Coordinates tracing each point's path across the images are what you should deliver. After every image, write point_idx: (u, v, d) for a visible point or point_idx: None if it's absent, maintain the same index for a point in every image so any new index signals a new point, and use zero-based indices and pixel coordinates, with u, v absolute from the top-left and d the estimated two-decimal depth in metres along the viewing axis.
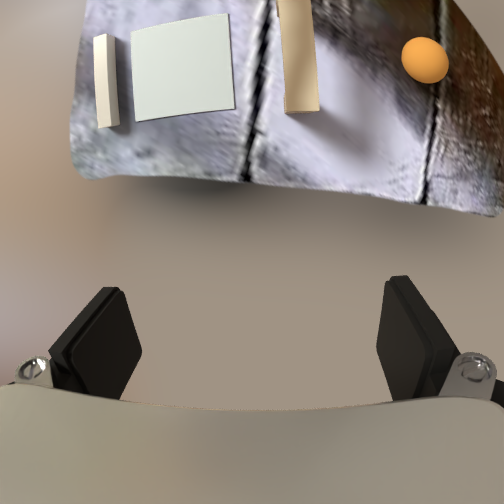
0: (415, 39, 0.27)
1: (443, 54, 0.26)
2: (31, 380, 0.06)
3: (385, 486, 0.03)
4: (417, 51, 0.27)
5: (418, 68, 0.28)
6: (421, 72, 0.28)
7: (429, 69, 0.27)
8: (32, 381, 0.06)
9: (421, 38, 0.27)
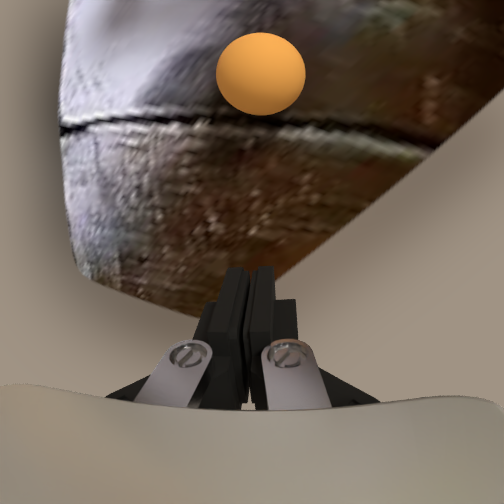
0: (293, 47, 0.17)
1: (269, 87, 0.17)
2: (178, 368, 0.07)
3: (385, 486, 0.03)
4: (263, 39, 0.17)
5: (231, 46, 0.17)
6: (225, 52, 0.17)
7: (230, 60, 0.17)
8: (178, 370, 0.07)
9: (295, 54, 0.17)
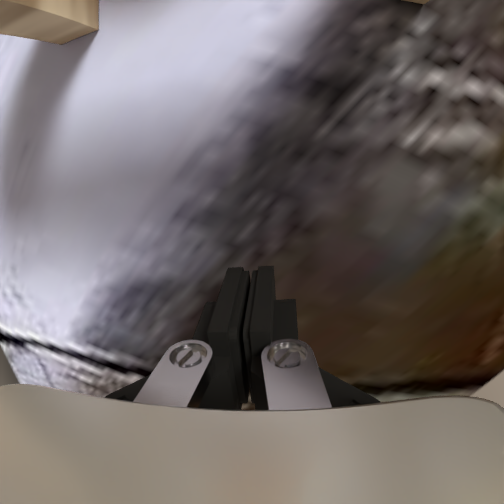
0: None
1: None
2: (178, 368, 0.07)
3: (385, 486, 0.03)
4: None
5: None
6: None
7: None
8: (178, 370, 0.07)
9: None
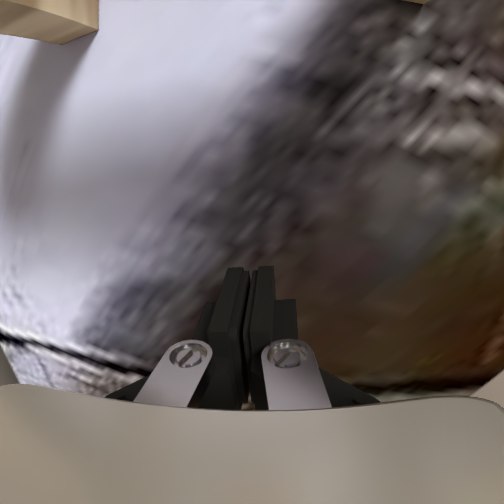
0: None
1: None
2: (178, 368, 0.07)
3: (385, 486, 0.03)
4: None
5: None
6: None
7: None
8: (178, 370, 0.07)
9: None
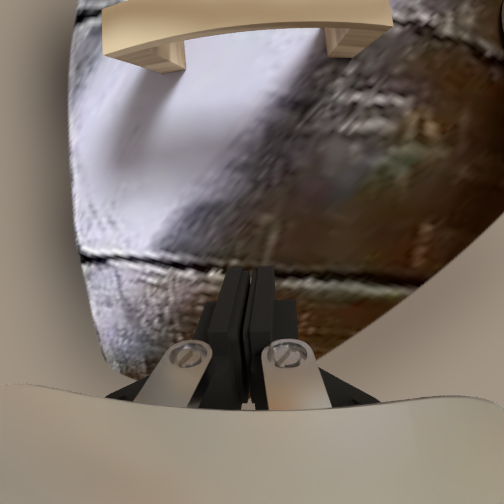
0: None
1: None
2: (178, 368, 0.07)
3: (385, 486, 0.03)
4: None
5: None
6: None
7: None
8: (178, 370, 0.07)
9: None
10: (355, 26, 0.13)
